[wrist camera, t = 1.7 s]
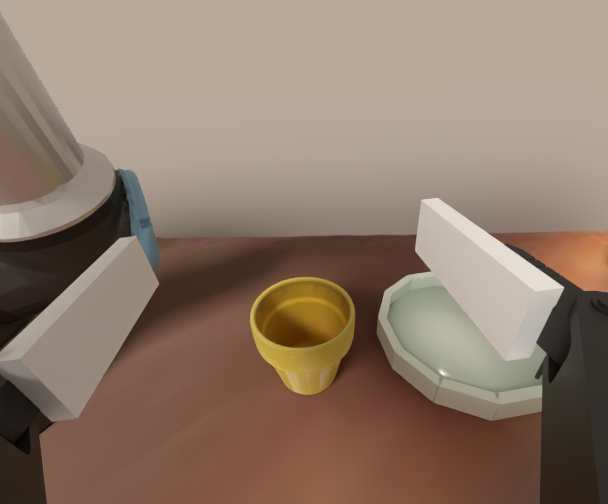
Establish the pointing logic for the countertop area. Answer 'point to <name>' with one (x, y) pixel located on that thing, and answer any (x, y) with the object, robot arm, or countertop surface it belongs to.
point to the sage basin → (453, 353)
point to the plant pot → (304, 331)
